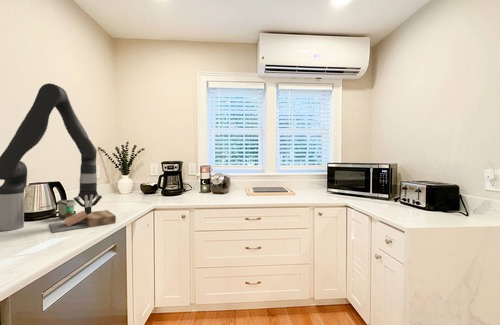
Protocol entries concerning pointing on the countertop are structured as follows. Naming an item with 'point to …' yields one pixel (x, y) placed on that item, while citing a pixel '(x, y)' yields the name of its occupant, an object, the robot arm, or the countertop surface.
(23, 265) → the countertop surface
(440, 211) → the countertop surface
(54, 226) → the mat
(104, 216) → the board
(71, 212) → the food container
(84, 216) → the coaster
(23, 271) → the countertop surface
